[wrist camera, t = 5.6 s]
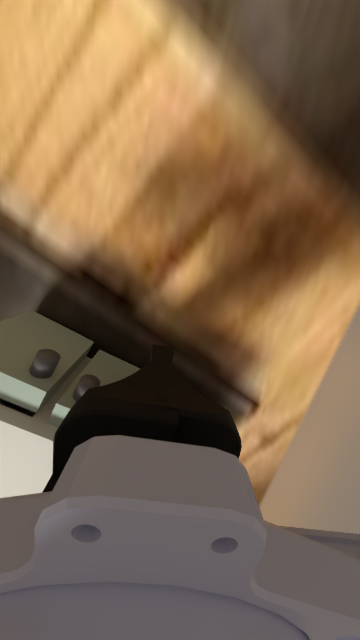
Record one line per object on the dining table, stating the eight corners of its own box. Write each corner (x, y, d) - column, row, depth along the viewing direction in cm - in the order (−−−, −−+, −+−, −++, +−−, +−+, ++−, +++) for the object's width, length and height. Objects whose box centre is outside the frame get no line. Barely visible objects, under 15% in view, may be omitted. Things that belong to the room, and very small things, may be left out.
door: (207, 415, 15) (224, 490, 10) (92, 363, 13) (46, 423, 8) (223, 395, 14) (248, 463, 10) (105, 338, 13) (63, 387, 8)
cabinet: (148, 484, 17) (135, 595, 12) (-14, 422, 15) (-132, 525, 9) (222, 392, 15) (253, 477, 9) (39, 295, 12) (-81, 329, 6)
